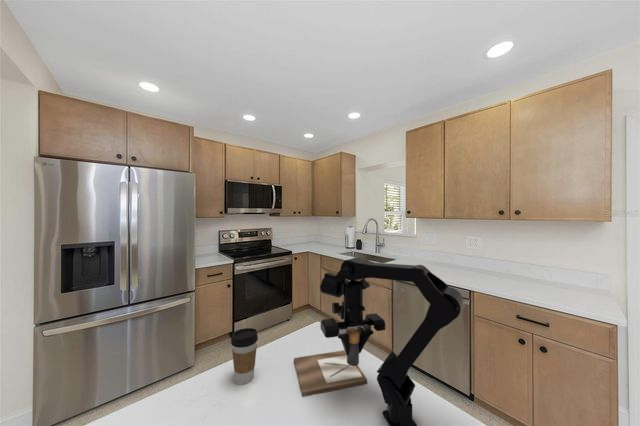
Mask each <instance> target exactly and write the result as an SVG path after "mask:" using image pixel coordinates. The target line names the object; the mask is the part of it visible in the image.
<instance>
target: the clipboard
mask: <svg viewBox="0 0 640 426" xmlns="http://www.w3.org/2000/svg"><path fill="white" fill-rule="evenodd" d="M293 365H294V367H295V373H296V375H297V379H298V380H297V381H298V384H299V389H300V392H301V396H302V397H308V396H311V395H312V396H313V395H318V394H322V393H327V392H332V391H336V390H337V391H338V390H340V389H341V390H342V389H347V388H350V387H351V388H352V387H354V386H356V387H357V386H362V385H365V384H368V379H367V376H365V374H364V372H363V371H362V370H361V368H360V367H359V364H358V365H357V366H351V365H349V364H348V363H347V355H346V353H345V350H344V349H342V350H337V351H330V352H325V353H319V354H311V355H306V356H298V357H293Z"/></svg>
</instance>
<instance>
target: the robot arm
mask: <svg viewBox="0 0 640 426" xmlns="http://www.w3.org/2000/svg"><path fill="white" fill-rule="evenodd" d="M370 278H372V279H378V280H379V279H381V280H390V281H399V282H407V283H410V282H411V283H413V284H414V285H415V286H416V287H417V289H418V290H419V292H420V293H421V295H422V296H423V298H424V299H425V301H427V302H428V304H429V307H428V309H427V311H426V315H425V317H424V318H423V320H422V321H421V323H420V325H419V326H418V327H417V328H416V329H415V332H413V334H412V336H411V337H410V338H409V339H408V341H407V342H406V344H405V345H404V346H403V348H402V349H401V351H400V352H398V353H397V354H396V353H395V351H394V350H391V352H390V353H389V354H388V356H387V357H386V359H384V361H383V362H382V364H381V365H380V366H379V368H378V369H377V370H376V373H377V376H376V381H377V385H378V386H379V388H380V391H381V394H382V397H383V400H384V403H385V404H386V405H387V407H386V408H387V409H386V410H382V416H383V417H384V419H385V420H386V422H387V424H388V425H389V426H418V424H417V423H416V422H415V421H414V419H413V404H412V394H413V392H414V390H415V387H416V384H415V382H414V381H413V380H412V378H411V377H410V376H409V372H410V369H411V367H412V366H413V364H414V363H415V362H416V361H417V359H418V358H419V357H420V355H422V352H423V351H424V350H426V348H427V346H428V345H429V344H430V342H431V341H432V340H433V338H434V337H436V335H437V333H438V332H439V331H440V330H443V329H444V328H445V327H447V326H448V325H450V324H451V323H453V321H454V320H456V319H457V318H458V317H459V316H460V314H461V311H462V307H463V305H464V297H463V296H462V294H461V292H459V290H458V289H455V288H454V287H451V286H449V285H448V284H447V283H446V282H445V281H444V280H443V279H441V278H440V277H438V276H437V275H435V274H434V273H432V272H431V271H430V270H429V269H428V268H427V267H426V266H424V265H423V264H416V265H414V264H402V263H401V264H400V263H399V264H397V263H387V262H386V263H384V262H382V263H381V262H374V261H371V260H369V259H366V258H363V257H358V256H356V257H353V258H352V257H351V258H348V259H345V260H344V261H343V262H342V263H341V264H340V270H339V271H337V274H335V273H332V272H329V271H328V272H326V273H324V277H323V278H322V280H321V283H320V285H319V286H320V287H319V289H320V290H319V291H320V292H321V293H322V294H323V295H326V296H331V297H335V298H341V297H342V296H343V301H341V304H340V303H339V302H331V313H332V314H334V315H335V314H337V316H338V317H340V320H343V321H338V322H337V321H336V320H335V319H334V318H333V317H332V318H324V319H322V320H321V321H320V330H321V332H322V334H323V335H324V337H325V338H327V339H328V338H329V339H330V338H336V337H337V338H338V339H340V341H341V343H342V346H343V350H345V353H346V355H348V352H349V336H348V334H347V333H346V331H347V330H348V329H351V328H354V329H357V330H359V331H360V342H359V354H361V353H362V351H363V349H364V347H365V345H366V343H367V341H368V340H369V338H370V337H371V336H372V335H374V331H373V330H372V326H373V329H374V330H375V331H376V332H380V331H381V332H382V331H386V327H387V326H386V321H385V319H384V318H383V317H381V316H380V315H379V314H377V313H368V314H367V313H366V315H364V312H365V311H366V306H364V291H365V290H367V289H368V288H370V287H371V284H369V282H367V280H366V279H370ZM364 317H365V318H364Z"/></svg>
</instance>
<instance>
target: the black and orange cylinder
mask: <svg viewBox="0 0 640 426" xmlns="http://www.w3.org/2000/svg"><path fill="white" fill-rule="evenodd" d="M346 333H347V334H348V336H349V352H348V355H347V363H348V364H349V365H351V366H357V365H358V366H359V365H360V353H359V342H360V331H359V330H358V329H357V328H349V329H347V330H346Z"/></svg>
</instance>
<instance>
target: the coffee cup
mask: <svg viewBox="0 0 640 426" xmlns="http://www.w3.org/2000/svg"><path fill="white" fill-rule="evenodd" d="M230 340H231V341H230V343H231V346H232V348H231V351H232V361H233V362H232V363H233V371H234V372H233V373H234V382H235V383H236V384H237V385H246V384H249V383H250V382H252V381H253V379H254V378H255V367H256V357H257V347H258V344H257V341H259V335H258V331H257V329H256V328H251V327H247V328H242V329H241V328H240V329H237V330H236V331H234V332H233V333H232V337H231V339H230Z"/></svg>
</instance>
